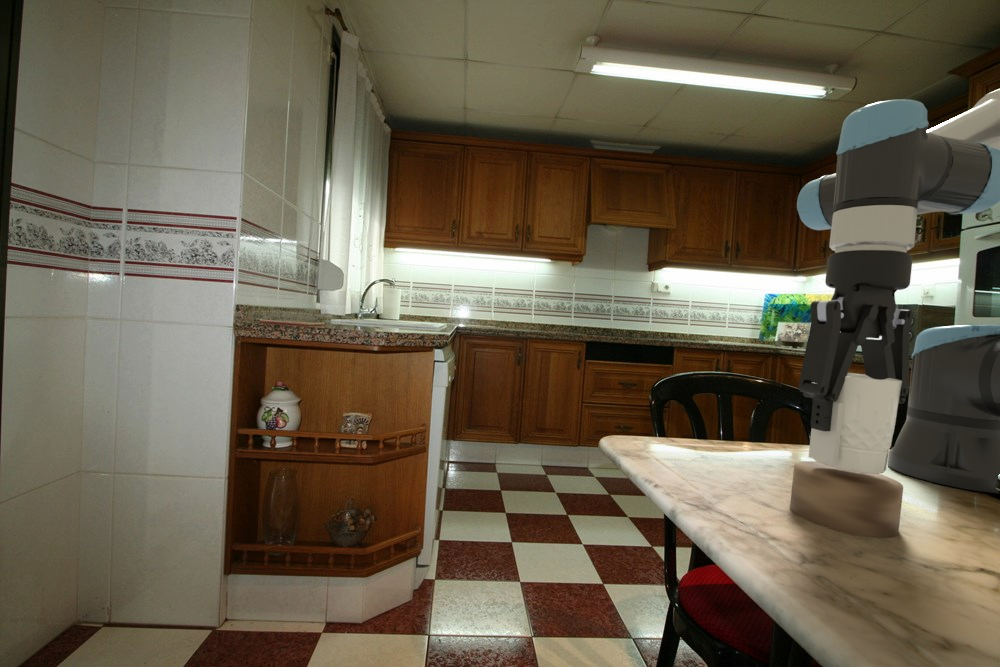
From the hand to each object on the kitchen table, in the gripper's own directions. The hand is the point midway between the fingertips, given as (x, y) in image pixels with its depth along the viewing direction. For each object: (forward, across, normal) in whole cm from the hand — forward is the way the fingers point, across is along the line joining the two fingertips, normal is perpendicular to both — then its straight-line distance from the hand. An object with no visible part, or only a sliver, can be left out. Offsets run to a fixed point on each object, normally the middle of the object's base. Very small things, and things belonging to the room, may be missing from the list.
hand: (848, 458), depth 56 cm
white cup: (+1, 0, 0) cm, 1 cm away
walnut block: (+7, 0, 0) cm, 7 cm away
